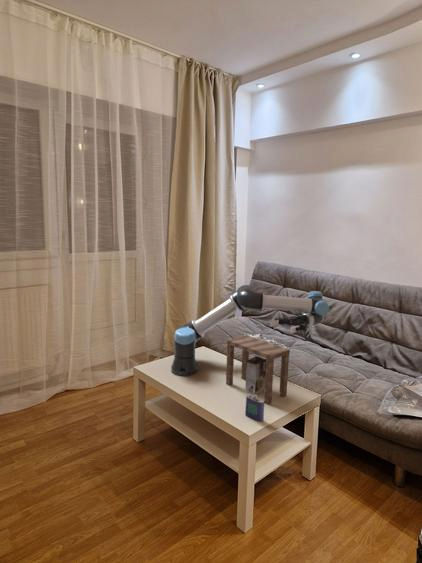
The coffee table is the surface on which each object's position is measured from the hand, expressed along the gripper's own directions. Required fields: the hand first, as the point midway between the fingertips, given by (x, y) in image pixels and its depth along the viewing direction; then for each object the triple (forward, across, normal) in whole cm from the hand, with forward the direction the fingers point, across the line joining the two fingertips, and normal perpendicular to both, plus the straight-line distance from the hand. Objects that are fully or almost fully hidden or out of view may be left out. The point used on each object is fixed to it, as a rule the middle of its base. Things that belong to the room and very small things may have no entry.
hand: (280, 327), depth 199 cm
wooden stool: (+18, 0, -30) cm, 35 cm away
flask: (+39, -18, -30) cm, 52 cm away
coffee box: (+18, 0, -30) cm, 35 cm away
